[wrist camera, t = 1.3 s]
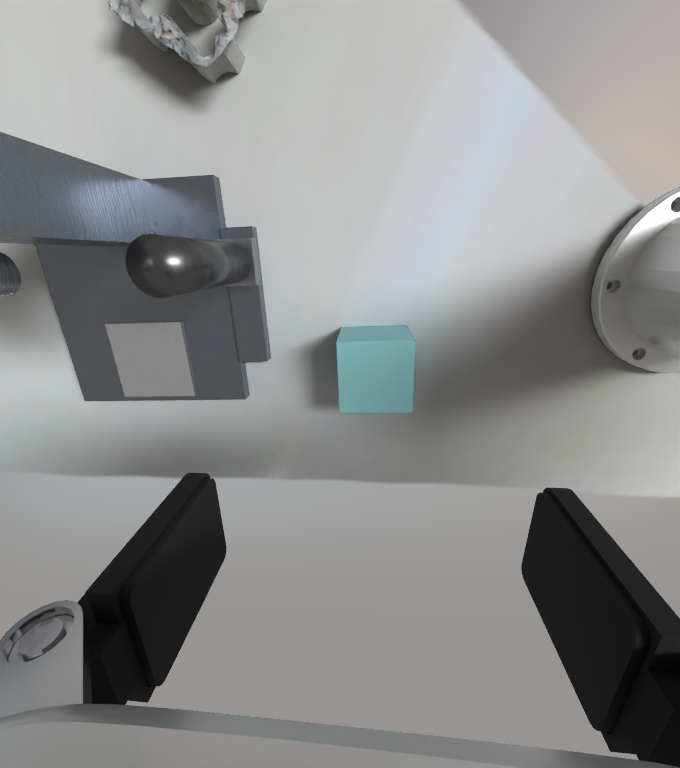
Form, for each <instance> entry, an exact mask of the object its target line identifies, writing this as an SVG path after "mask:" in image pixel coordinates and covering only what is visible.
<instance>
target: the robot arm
mask: <svg viewBox="0 0 680 768" xmlns="http://www.w3.org/2000/svg"><path fill="white" fill-rule="evenodd" d="M607 284H608V286H607ZM606 286H607V287H606ZM591 310H592V317H593V323H594V325H595V328H596V330H597V333H598V335H599V337H600V339H601V340H602V341H603V343H604V344H605V345H606V347H607V348H608V349H609V350H610V351H611V352H612V353H614V354H615V355H616V356H617V357H618V358H620V359H622V360H624V361H626V362H628V363H630V364H632V365H634V366H637V367H640V368H643V369H645V370H648V371H654V372H660V373H680V187H679V188H676V189H674V190H672V191H669V192H667V193H666V194H664V195H662V196H661V197H659V198H658V199H656V200H654V201H653V202H651V203H650V204H648V205H647V206H646V207H645V208H643V209H642V210H641V211H640V212H639V213H637V214H636V215H635V216H634V217H633V218H632V219H631V220H630V221H629V222H628V223H627V224H626V225H625V226H624V227H623V229H622V230H621V231H620V232H619V233H618V234H617V235H616V237H615V238H614V240H613V241H612V243H611V245H610V246H609V248H608V249H607V251H606V252H605V254H604V256H603V258H602V261H601V263H600V265H599V267H598V270H597V272H596V276H595V280H594V284H593V288H592V298H591ZM225 555H226V543H225V537H224V530H223V525H222V519H221V513H220V507H219V501H218V495H217V489H216V483H215V480H214V479H210V476H209V475H208V474H206V473H187V474H186V475H185V476H184V477H183V478H182V480H181V481H180V482H179V483H178V484H177V486H176V487H175V488H174V489H173V490H172V491H171V493H170V494H169V495H168V496H167V497H166V498H165V500H164V501H163V502H162V503H161V504H160V505H159V507H158V508H157V509H156V510H155V511H154V512H153V514H152V515H151V516H150V517H149V518H148V519H147V521H146V522H145V523H144V524H143V525H142V526H141V528H140V529H139V530H138V531H137V533H136V534H135V535H134V536H133V537H132V538H131V539H130V541H129V542H128V543H127V544H126V545H125V546H124V548H123V549H122V550H121V551H120V552H119V554H118V555H117V556H116V557H115V558H114V559H113V560H112V562H111V563H110V564H109V565H108V566H107V567H106V569H105V570H104V571H103V572H102V573H101V574H100V576H99V577H98V578H97V579H96V580H95V582H94V583H93V584H92V585H91V586H90V587H89V589H88V590H87V591H86V592H85V594H84V596H83V597H82V598H81V599H80V600H79V602H78V603H76V602H73V601H67V600H66V601H58V602H54V603H51V604H48V605H45V606H43V607H41V608H39V609H37V610H35V611H33V612H31V613H29V614H28V615H27V616H25V617H24V618H23V619H21V620H20V621H18V622H17V623H16V624H15V625H14V626H13V627H12V628H11V629H10V630H9V631H7V633H6V634H5V635H4V636H3V638H2V639H1V640H0V768H680V618H679V617H678V616H677V615H676V614H675V612H674V611H673V610H672V609H671V608H670V607H669V605H668V604H667V603H666V602H665V601H664V599H663V598H662V597H661V596H660V595H659V593H657V591H656V590H655V589H654V587H653V586H652V585H651V584H650V583H649V582H648V580H647V579H646V578H645V577H644V576H643V574H642V573H641V572H640V571H639V570H638V568H637V567H636V566H635V565H634V564H633V562H632V561H631V560H630V559H629V558H628V556H627V555H626V554H625V553H624V552H623V551H622V549H621V548H620V547H619V546H618V545H617V543H616V542H615V541H614V540H613V539H612V537H611V536H610V535H609V534H608V533H607V532H606V530H605V529H604V528H603V527H602V526H601V524H600V523H599V522H598V521H597V520H596V518H595V517H594V516H593V515H592V514H591V513H590V511H589V510H588V509H587V508H586V506H585V505H584V504H583V503H582V502H581V500H580V499H579V498H578V497H577V496H576V494H575V493H574V492H573V491H572V490H571V489H568V488H545V489H544V491H543V493H539V494H538V495H537V497H536V502H535V506H534V511H533V516H532V520H531V525H530V529H529V534H528V538H527V543H526V547H525V552H524V557H523V561H522V575H523V579H524V581H525V583H526V585H527V587H528V590H529V592H530V594H531V596H532V598H533V600H534V603H535V605H536V607H537V609H538V611H539V614H540V616H541V618H542V620H543V622H544V624H545V626H546V629H547V631H548V633H549V635H550V638H551V640H552V642H553V644H554V646H555V648H556V650H557V653H558V655H559V657H560V659H561V661H562V664H563V666H564V668H565V670H566V672H567V674H568V677H569V679H570V681H571V683H572V685H573V687H574V690H575V692H576V694H577V696H578V698H579V700H580V702H581V705H582V707H583V709H584V711H585V713H586V716H587V718H588V720H589V722H590V723H591V725H592V726H593V728H594V729H596V730H597V731H601V733H602V735H603V737H604V739H605V741H606V743H607V745H608V748H609V750H610V751H611V752H619V753H629V754H636V755H637V757H638V759H639V760H632V759H624V758H617V757H609V756H602V755H594V754H586V753H579V752H572V751H564V750H555V749H546V748H537V747H529V746H520V745H511V744H501V743H493V742H485V741H476V740H467V739H458V738H449V737H440V736H431V735H421V734H413V733H403V732H394V731H385V730H375V729H366V728H357V727H347V726H338V725H328V724H318V723H309V722H300V721H290V720H280V719H270V718H261V717H250V716H240V715H230V714H220V713H211V712H199V711H191V710H181V709H168V708H155V707H142V706H129V705H125V704H126V702H127V701H128V700H130V701H138V702H148V701H149V699H150V697H151V695H152V693H153V691H154V689H155V687H156V686H160V685H162V683H163V682H164V681H165V679H166V677H167V675H168V673H169V671H170V669H171V667H172V665H173V663H174V661H175V659H176V657H177V655H178V653H179V651H180V649H181V647H182V645H183V643H184V641H185V638H186V636H187V634H188V632H189V630H190V628H191V626H192V624H193V622H194V620H195V618H196V616H197V614H198V612H199V610H200V608H201V606H202V604H203V602H204V600H205V598H206V596H207V594H208V592H209V589H210V587H211V585H212V583H213V581H214V579H215V577H216V575H217V573H218V571H219V569H220V567H221V565H222V563H223V561H224V558H225Z"/></svg>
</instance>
